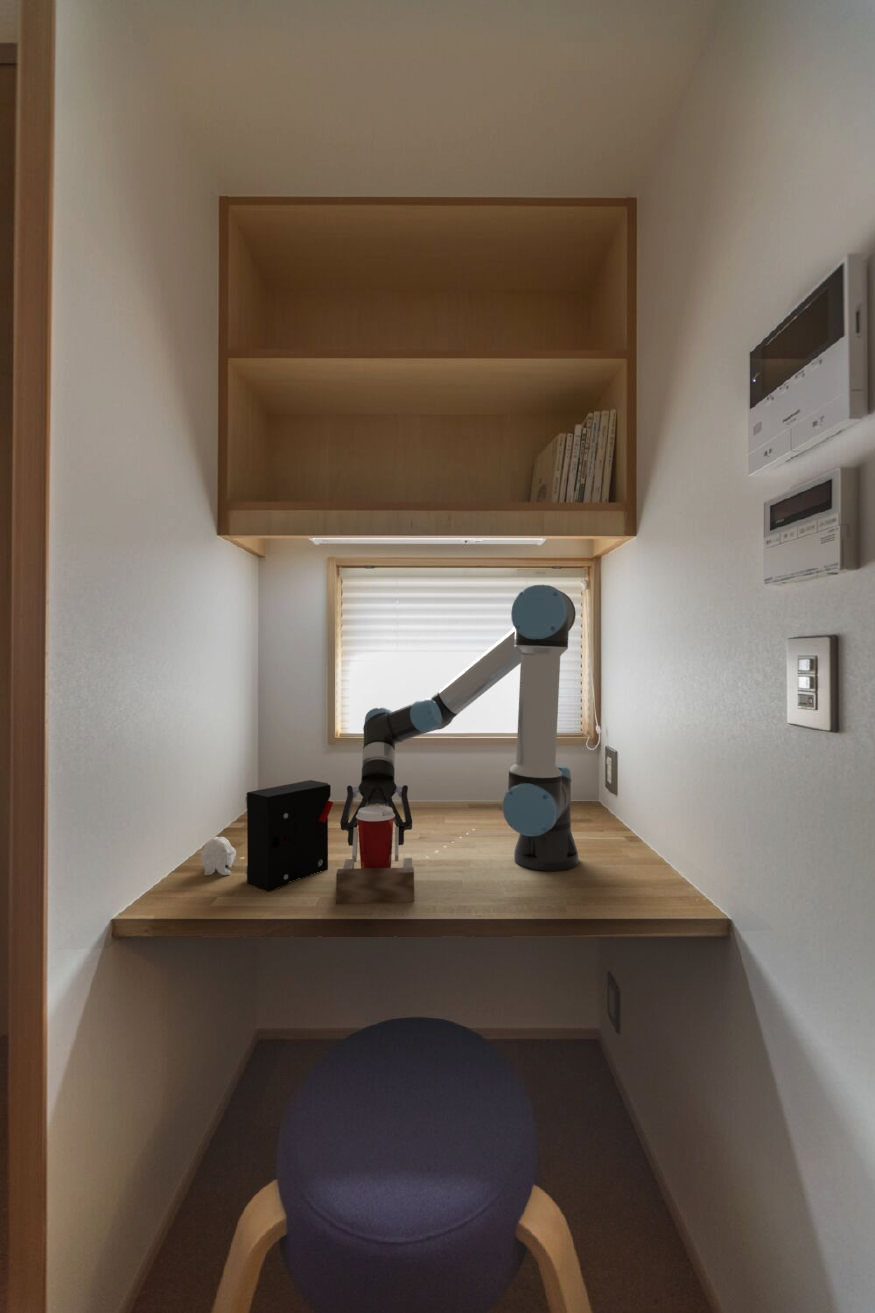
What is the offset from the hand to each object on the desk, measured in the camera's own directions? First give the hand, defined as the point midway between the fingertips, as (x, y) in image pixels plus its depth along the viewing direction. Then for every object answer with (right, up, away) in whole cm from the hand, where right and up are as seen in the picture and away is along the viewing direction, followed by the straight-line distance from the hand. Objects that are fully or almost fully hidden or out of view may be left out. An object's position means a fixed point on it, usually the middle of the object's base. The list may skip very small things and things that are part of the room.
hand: (375, 858), depth 136 cm
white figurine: (-37, -8, +16) cm, 41 cm away
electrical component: (-21, -8, +12) cm, 25 cm away
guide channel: (0, -8, +8) cm, 11 cm away
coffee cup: (0, -6, +3) cm, 7 cm away
